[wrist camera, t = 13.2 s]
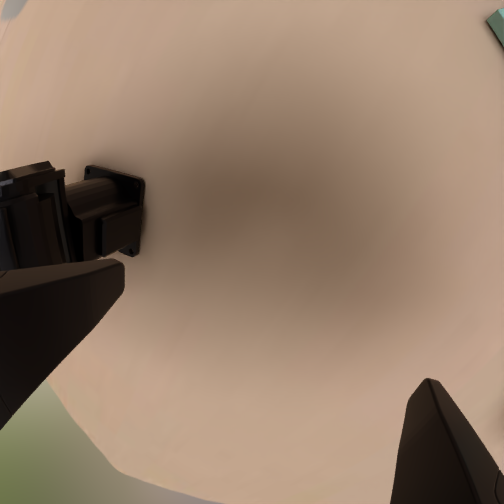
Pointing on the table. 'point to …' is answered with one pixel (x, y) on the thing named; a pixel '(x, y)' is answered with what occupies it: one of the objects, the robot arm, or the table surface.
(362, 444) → the table surface
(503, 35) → the teal t-shaped block
